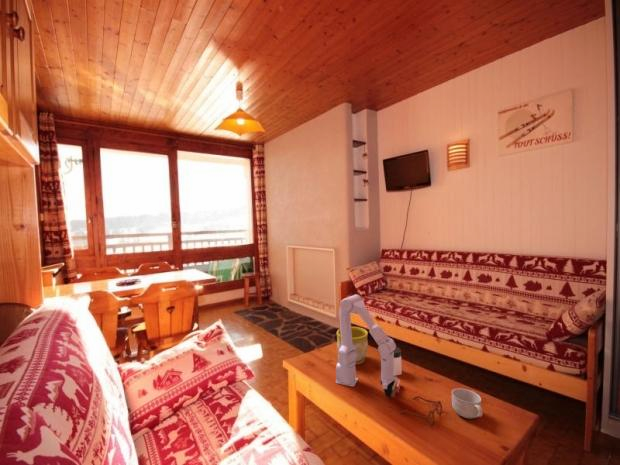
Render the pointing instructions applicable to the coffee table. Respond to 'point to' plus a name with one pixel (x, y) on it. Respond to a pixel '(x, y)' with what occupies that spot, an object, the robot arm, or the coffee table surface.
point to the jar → (397, 362)
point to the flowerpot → (356, 342)
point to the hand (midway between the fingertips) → (388, 396)
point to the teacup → (466, 403)
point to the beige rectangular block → (394, 389)
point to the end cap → (397, 385)
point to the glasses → (429, 411)
